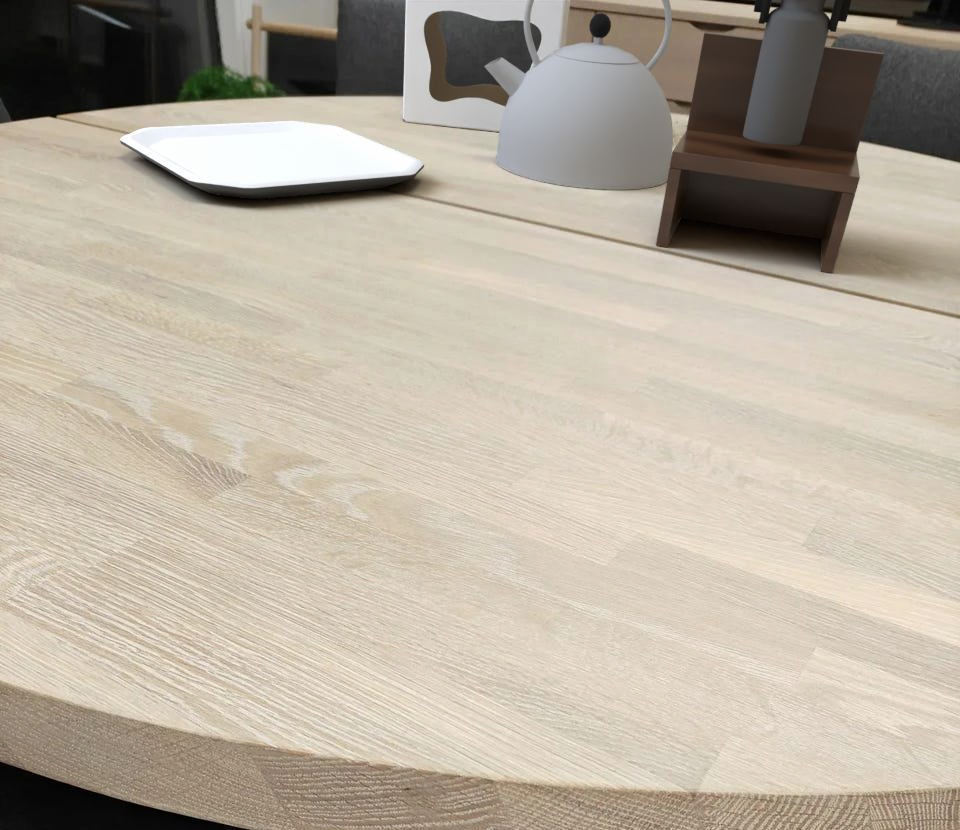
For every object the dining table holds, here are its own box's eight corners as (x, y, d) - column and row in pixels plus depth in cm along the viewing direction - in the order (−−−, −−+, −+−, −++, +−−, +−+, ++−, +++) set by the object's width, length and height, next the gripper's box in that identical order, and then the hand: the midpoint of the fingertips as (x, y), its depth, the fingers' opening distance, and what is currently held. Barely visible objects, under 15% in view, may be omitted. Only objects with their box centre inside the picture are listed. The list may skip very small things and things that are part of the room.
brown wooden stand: (671, 214, 114) (705, 31, 103) (831, 238, 111) (883, 52, 100) (655, 245, 103) (691, 45, 92) (832, 273, 100) (890, 69, 89)
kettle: (481, 180, 120) (497, -46, 106) (475, 141, 138) (488, -57, 124) (684, 195, 122) (725, -25, 108) (652, 154, 140) (684, -39, 126)
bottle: (805, 139, 101) (849, -38, 92) (795, 148, 97) (840, -37, 88) (749, 130, 103) (786, -45, 94) (736, 139, 99) (774, -44, 90)
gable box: (400, 121, 145) (406, -120, 128) (417, 106, 155) (424, -118, 138) (552, 138, 144) (578, -103, 127) (558, 122, 154) (583, -103, 137)
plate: (209, 212, 100) (207, 188, 99) (107, 149, 118) (104, 128, 117) (445, 190, 115) (446, 169, 114) (322, 137, 133) (322, 118, 131)
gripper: (956, -213, 85) (888, 33, 96) (753, -227, 88) (709, 13, 99) (966, -223, 79) (892, 41, 90) (748, -238, 82) (702, 19, 93)
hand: (797, 24), depth 94 cm, fingers closed on bottle, 5 cm apart
